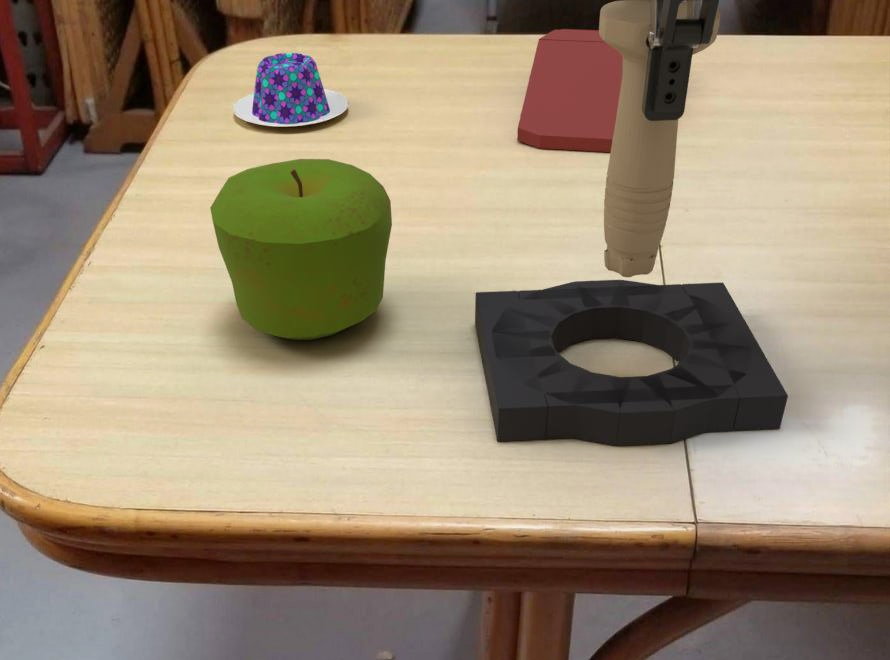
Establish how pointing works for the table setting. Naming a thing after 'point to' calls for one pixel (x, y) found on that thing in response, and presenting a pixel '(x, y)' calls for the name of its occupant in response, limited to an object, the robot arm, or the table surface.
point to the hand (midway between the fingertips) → (650, 99)
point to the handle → (637, 147)
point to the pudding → (289, 94)
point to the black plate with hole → (623, 398)
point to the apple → (304, 245)
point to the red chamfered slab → (572, 93)
